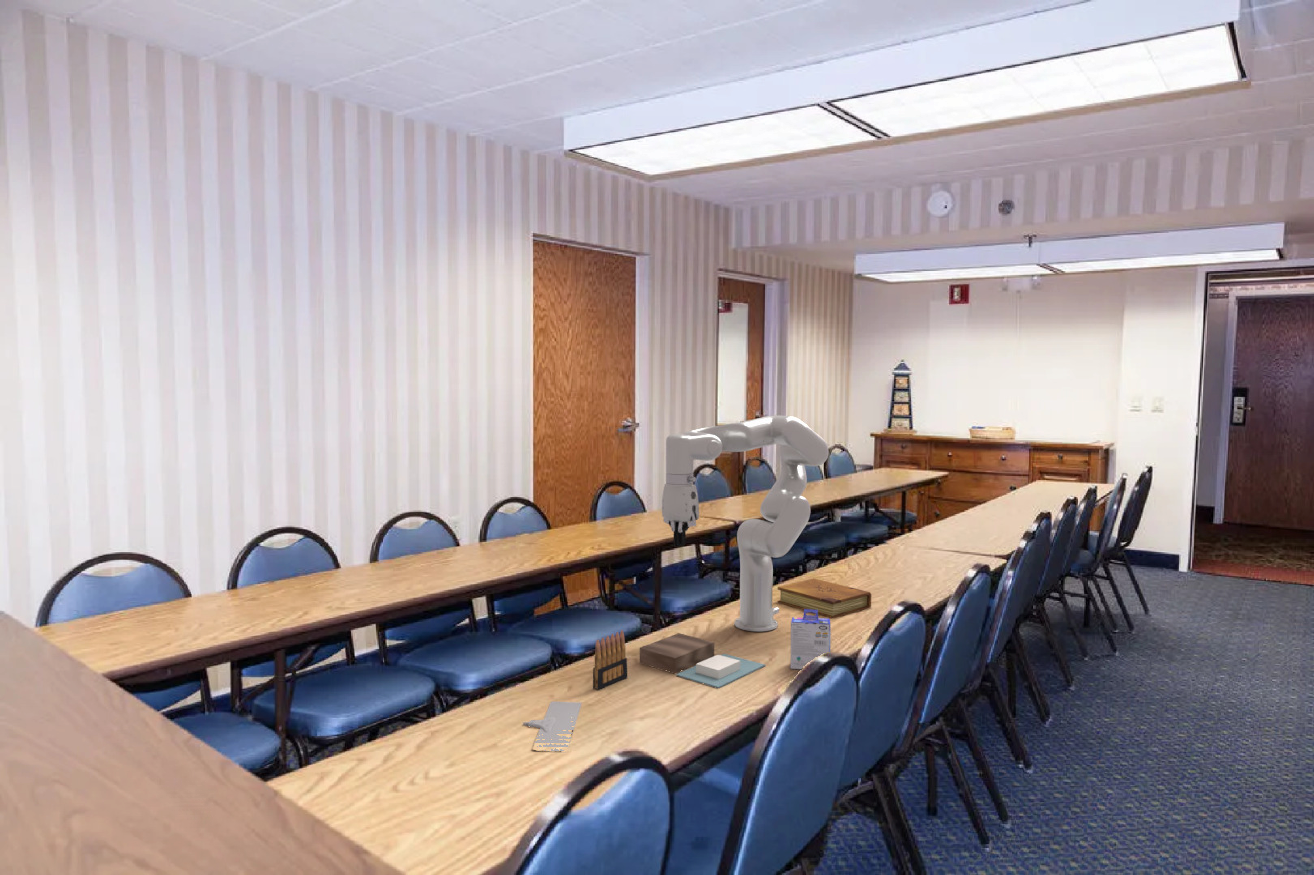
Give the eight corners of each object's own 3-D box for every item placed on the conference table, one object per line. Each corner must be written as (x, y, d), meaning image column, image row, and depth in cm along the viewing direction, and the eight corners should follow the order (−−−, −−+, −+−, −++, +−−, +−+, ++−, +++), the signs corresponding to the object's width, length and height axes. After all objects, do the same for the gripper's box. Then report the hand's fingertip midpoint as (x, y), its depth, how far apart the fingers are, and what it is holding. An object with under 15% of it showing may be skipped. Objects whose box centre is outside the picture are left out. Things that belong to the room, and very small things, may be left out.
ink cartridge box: (830, 664, 215) (830, 609, 213) (830, 672, 209) (831, 615, 208) (791, 662, 216) (791, 607, 215) (790, 669, 211) (790, 613, 210)
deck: (678, 647, 228) (678, 633, 228) (714, 657, 220) (714, 642, 220) (639, 662, 216) (639, 647, 216) (675, 673, 208) (675, 658, 208)
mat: (723, 655, 222) (723, 653, 222) (765, 666, 213) (765, 664, 213) (676, 675, 207) (676, 674, 207) (718, 688, 198) (718, 687, 198)
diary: (871, 609, 267) (871, 591, 266) (833, 620, 255) (833, 601, 255) (815, 594, 285) (815, 577, 284) (777, 603, 273) (777, 586, 272)
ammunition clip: (621, 676, 207) (621, 628, 206) (627, 677, 206) (627, 629, 205) (592, 689, 198) (592, 639, 197) (598, 690, 197) (597, 641, 196)
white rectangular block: (740, 660, 210) (740, 669, 210) (718, 654, 214) (718, 663, 215) (718, 670, 203) (718, 679, 203) (696, 663, 208) (696, 672, 208)
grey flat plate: (533, 703, 191) (533, 698, 190) (636, 707, 190) (636, 702, 190) (511, 753, 166) (511, 747, 166) (629, 757, 165) (629, 751, 165)
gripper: (709, 480, 227) (709, 547, 229) (667, 476, 237) (667, 540, 239) (692, 483, 222) (692, 551, 223) (650, 478, 231) (650, 544, 233)
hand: (679, 545), depth 231 cm, fingers closed
